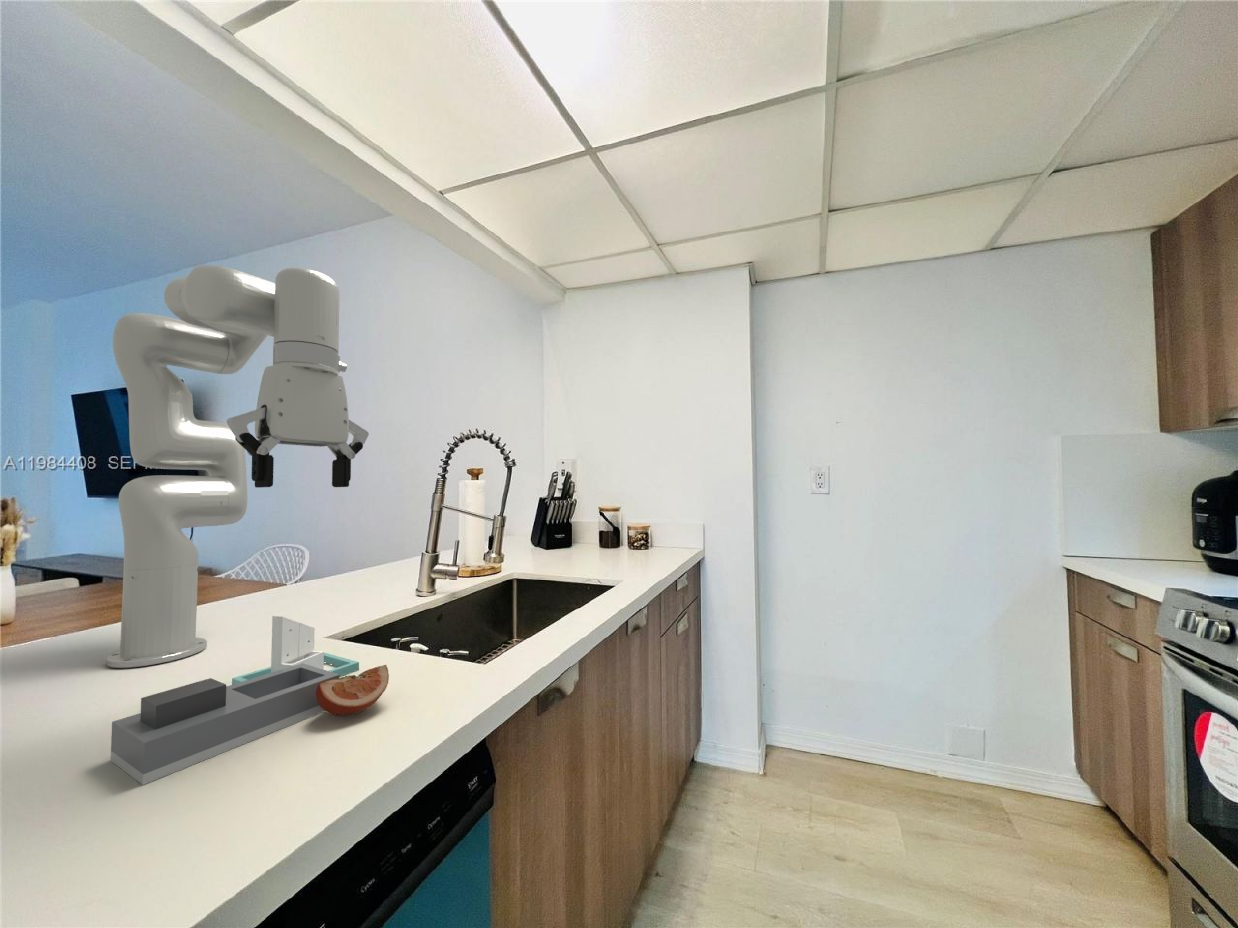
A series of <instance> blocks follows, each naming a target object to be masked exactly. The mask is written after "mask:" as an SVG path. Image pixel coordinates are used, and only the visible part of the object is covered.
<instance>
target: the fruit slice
mask: <svg viewBox="0 0 1238 928" xmlns="http://www.w3.org/2000/svg"><path fill="white" fill-rule="evenodd" d="M389 677H390V675H389V668H388V667H387V664H383V665H379V666H376V667H373V668H369V669H367V670H364V671H362V672H361V673H360V674H358V675H357V676H356V675H355V674H353V675H344V676H340V677H339V679H333V680H329V681H325V682H323V683H320V684H319V685H318V687H317V689H316V699H317V701H318V703H319V705H320V707H321V708H323V709H324V710H325V711H324V712H326V713H328V714H331V715H333V716H339V717H341V716H342V717H343V716H345V717H346V716H350V715H355V714H357V713H361V712H362V711H366V709H368V708H370V707H372V706H374V704H375V703H377V702H378V700H379V699H380V698H381V696H382V695H383V694H384V693H385V691H386V690H387V687H388V684H389V679H390V678H389Z"/></svg>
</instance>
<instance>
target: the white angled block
mask: <svg viewBox="0 0 1238 928" xmlns="http://www.w3.org/2000/svg"><path fill="white" fill-rule="evenodd" d="M271 625H272V626H271V654H270V655H271V658H270V667H271V673H272V672H276V671H279V670H282V669H285V668H289V667H292V666H295V665H298V664H302V663H304V664H307V665H310V666H313V667H317V668H320V669H323V670H325V669H324V666H325V665H324V664H325V663H324V653H325V651H321V650H315V630H316V629H315V627H313V626H309V625H307V624H305V623H302V622H298V621H296V620H294V619H291V618H287V617H284V616H277V615H273V616H272V618H271Z"/></svg>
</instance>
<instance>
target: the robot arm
mask: <svg viewBox="0 0 1238 928" xmlns="http://www.w3.org/2000/svg"><path fill="white" fill-rule="evenodd" d="M163 298H164V303H165V305H166V307H167V308H168V309H169V311H170V312H171V313H172V314H173V315H174V316H175V317H177V318H175V317H174V318H173V317H169V316H167V315H166V316H164V315H159V314H154V313H146V312H135V313H133V312H132V313H127V314H124V315H123V316H121V317H119V318H118V319H117V321H116V324H115V325H114V329H113V334H112V349H113V356H114V359H115V364H116V366H117V368H118V370H119V373H120V375H121V377H122V379H123V383H124V385H125V387H126V391H127V397H128V428H129V429H128V430H129V447H130V454H131V457H132V459H133V461H134V462H135V463H136V464H137V465H139V466H142V467H145V468H150V469H158V470H159V469H163V470H190V471H192V470H195V471H205V472H207V473H208V476H207V475H179V474H178V475H177V474H176V475H175V474H174V475H170V474H169V475H168V474H166V475H163V474H162V475H161V474H160V475H146V476H141V477H136V478H133V479H132V480H130V481H128V482H126V483H125V484H124V485H123V486H122V488H121V489H120V491H119V493H118V501H117V502H118V509H119V515H120V521H121V526H122V533H123V577H122V578H123V579H122V596H121V597H122V599H121V600H122V601H121V621H120V622H121V624H120V642H119V643H120V647H119V650H117V651H115V652H113V653H111V654H109V655H108V656H107V657H106V661H105V665H106V666H108V667H109V668H117V669H126V668H127V669H128V668H139V667H146V666H151V665H158V664H163V663H167V662H172V661H176V660H180V659H184V658H187V657H190V656H193V655H195V654H198V653H200V652H202V651H204V650H205V649H206V648H207V646H208V645H207V643H208V641H207V639H205V638H202V637H197V635H196V634H197V633H196V632H197V611H198V610H197V609H198V608H197V607H198V586H199V584H198V581H199V580H198V579H199V551H198V548H197V546H196V544H195V543H194V542H193V541H192V540H191V539H190V538H189V537H188V536H187V534H185V533H184V532H183V531H182V529H188V528H189V529H190V528H200V527H201V528H203V527H217V526H227V525H228V526H229V525H232V524H235V523H238V522H240V521H241V520H242V519H243V517H244V516H245V514H246V512H247V509H248V481H247V479H248V477H247V464H246V463H247V461H246V454H248V455H249V456H250V457H251V480H252V481H253V482H254V488H260V489H261V488H271V487H273V486H274V461H275V460H274V459H275V458H274V456H273V455H272V454H270V452H271V451H272V450H273V449H274V448H275V447H276V446H277V445H288V446H289V445H290V446H304V447H305V446H306V447H319V448H320V447H327V448H328V449H329V451H330V452H331V453H332V454H333V455H334V456H335V458H336V459H333V460H332V462H331V463H332V464H331V466H332V467H331V485H332V487H333V488H348V487H349V486H350V481H351V479H352V478H351V477H352V474H351V473H352V469H351V468H352V460H354V459H355V457H356V455H358V453H359V452H360V451H361V450H362V449H363V448H364V445H365V443H366V440H367V439H368V437H369V432H368V430H366V429H364V428H363V427H361V426H359V425H358V424H356V423H355V422H354V421H352V420H350V419H349V406H348V397H347V392H346V387H345V382H344V379H343V376H342V375H339V374H340V372H342V373H345V372H346V371H347V370H348V365H347V364H346V362H345V363H344V362H342V361H340V360H341V358H340V357H341V356H340V354H339V352H340V351H339V350H340V348H339V346H340V343H339V342H340V290H339V286H338V284H337V283H336V282H335V280H333V279H332V278H331V277H330V276H328V275H326V274H324V273H322V272H320V271H318V270H314V269H310V268H305V267H287V268H285V269H284V268H283V269H281V270H280V271H279V272H277V274H276V276H275V279H274V282H273V281H270V280H267V279H264V278H263V277H259V276H256V275H253V274H250V273H248V272H247V273H246V272H244V271H241V270H238V269H234V268H231V267H227V266H222V265H214V264H199V265H196V266H195V267H194V268H193V269H192V270H191V271H190V272H189V273H188V275H184V276H180V277H177V278H175V279H173V280H172V281H170V282H169V283H168V284H167V286H166V287H165V289H164V293H163ZM268 336H269V337H273V347H272V348H273V349H272V350H273V351H272V365H268V366H266V367H265V368H264V370H263V375H262V378H261V382H260V386H259V392H258V396H257V402H256V409H254V410H251V411H249V412H243V413H242V414H238V415H235V416H232V417H229V418H227V420H226V422H225V423H224V422H219V421H212V420H211V421H210V420H201V419H197V418H196V417H195V414H194V401H193V400H194V399H193V394H192V392H191V390H190V389H189V387H187V385H186V384H185V383H184V381H183V380H182V379H181V378H180V377H179V376H178V375H177V374H176V373H174V372H173V371H172V369H170V368H169V367H168V366H172V367H177V368H182V369H189V370H194V371H200V372H206V373H211V374H218V375H219V374H220V375H232V374H236V373H238V372H239V371H241V370H242V369H243V367H244V366H245V365H246V364H247V363H248V361H250V359H251V358H252V356H253V355H254V354H255V352H256V351H257V350H258V349H259V347H260V346H261V345H262V344H263V342H264V341H265V340H266V339H267V337H268ZM250 423H254V434H255V436H254V435H253V434H252V433H250V431H249V428H248V425H249V424H250ZM349 434H351V435H352V436H353V437H352V441H351V442H350V443H349V444H348V443H347V442H348V439H349ZM246 452H247V453H246Z"/></svg>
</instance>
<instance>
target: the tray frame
mask: <svg viewBox="0 0 1238 928" xmlns="http://www.w3.org/2000/svg"><path fill="white" fill-rule="evenodd" d="M324 662H326V663H325V664H327V663H329V664H328V665H330V664H332V665H331V666H333V665H335V668H331V669H329V670H328V671H330V672H333V673H336V674H339V675H340V677H344V676H347V675H349V674H351V673H354V672H357V671H359V670H360V662H359V661H356V660H354V659H353V660H352V659H350V658H349V659H348V658H345V657H341V656H338V655H335V654H330V653H328V652H327V653H326V652H324ZM337 666H338V667H337ZM269 673H271V666H269V667H266V668H262V669H259V670H258V669H257V670H256V671H252V672H248V673H246V674H242V675H238V676H235V677H232V678H231V685H233V684H237V683H240V682H243V681H246V680H250V679H253V678H256V677H259V676H263V675H266V674H269Z"/></svg>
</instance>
